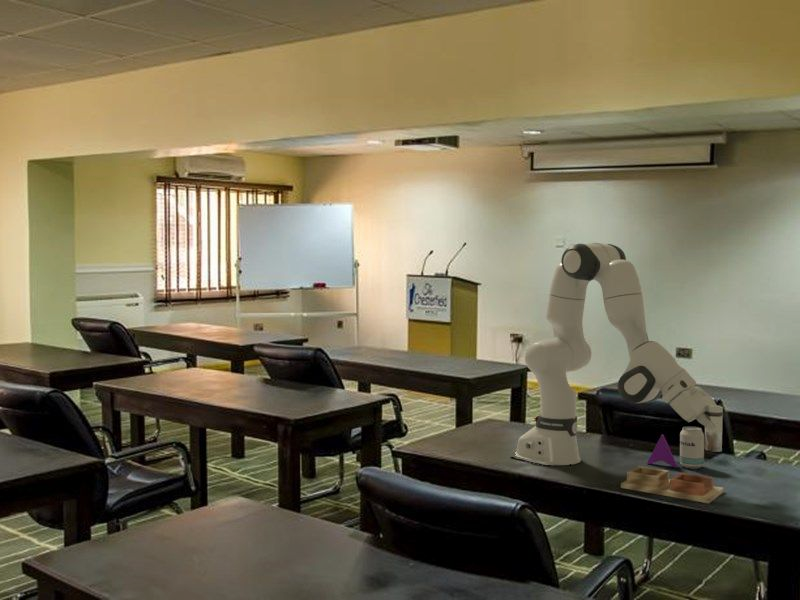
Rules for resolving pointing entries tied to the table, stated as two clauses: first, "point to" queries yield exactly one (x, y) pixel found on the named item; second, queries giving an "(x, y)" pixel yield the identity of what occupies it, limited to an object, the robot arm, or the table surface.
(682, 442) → the beverage can
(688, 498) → the collar board
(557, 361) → the robot arm
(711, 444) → the white cylinder
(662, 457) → the arrowhead
